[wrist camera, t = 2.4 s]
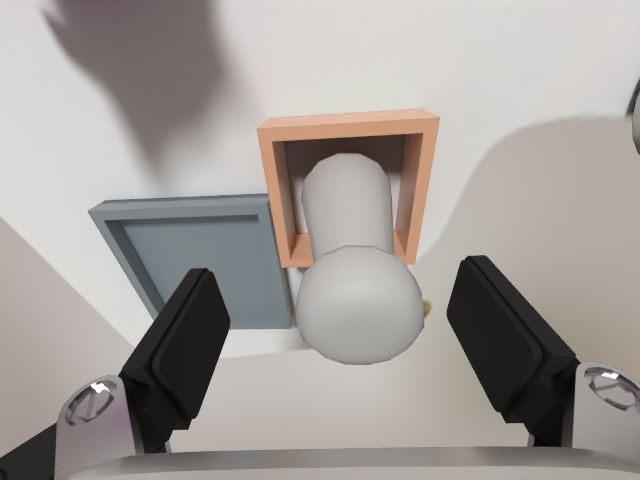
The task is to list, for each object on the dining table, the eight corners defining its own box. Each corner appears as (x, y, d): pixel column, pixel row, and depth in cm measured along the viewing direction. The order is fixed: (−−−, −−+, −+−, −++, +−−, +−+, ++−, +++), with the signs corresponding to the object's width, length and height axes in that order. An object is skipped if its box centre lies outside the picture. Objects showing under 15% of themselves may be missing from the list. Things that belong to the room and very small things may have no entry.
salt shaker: (387, 213, 20) (454, 383, 9) (315, 226, 21) (296, 395, 10) (380, 134, 17) (468, 248, 6) (295, 153, 18) (238, 283, 7)
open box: (420, 108, 16) (440, 117, 13) (403, 237, 21) (414, 264, 18) (269, 118, 17) (256, 128, 14) (288, 241, 22) (281, 267, 19)
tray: (271, 193, 19) (266, 203, 18) (292, 314, 27) (290, 328, 25) (105, 200, 20) (87, 210, 19) (169, 315, 27) (159, 329, 26)
